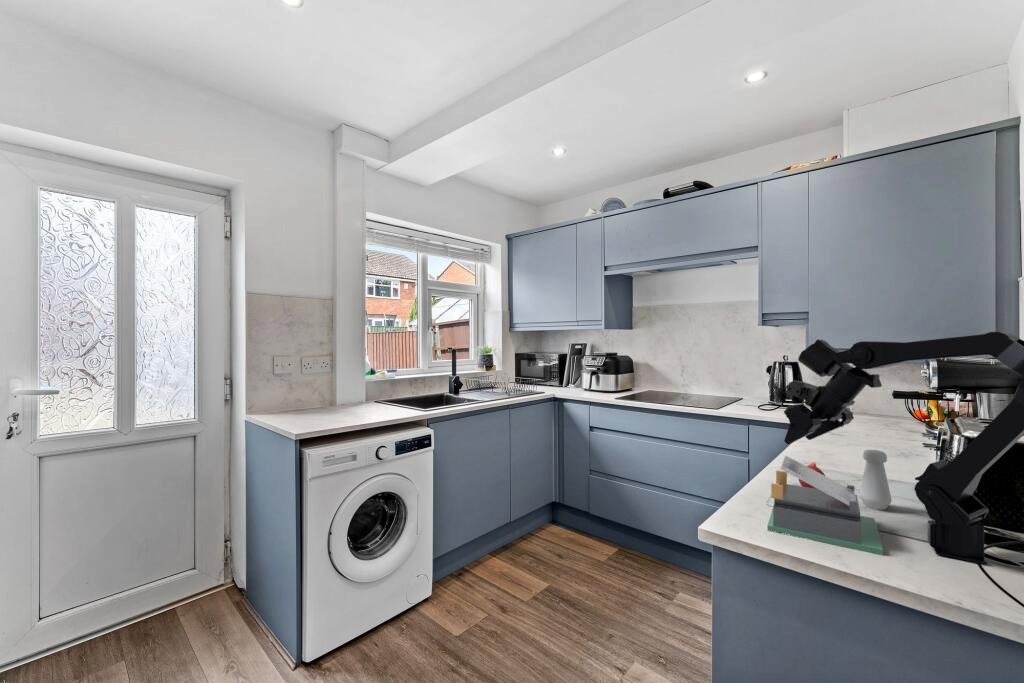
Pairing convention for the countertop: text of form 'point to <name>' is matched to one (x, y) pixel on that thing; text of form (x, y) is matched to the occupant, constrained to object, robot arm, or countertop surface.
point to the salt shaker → (875, 481)
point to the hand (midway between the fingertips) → (797, 440)
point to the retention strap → (818, 480)
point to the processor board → (868, 540)
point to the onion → (813, 466)
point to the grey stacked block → (814, 511)
